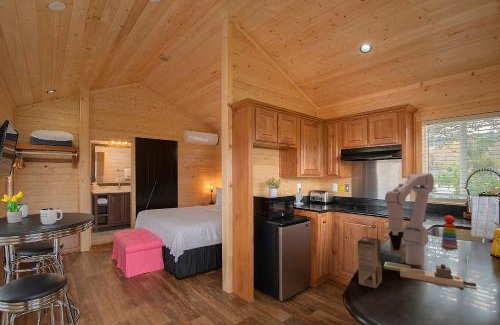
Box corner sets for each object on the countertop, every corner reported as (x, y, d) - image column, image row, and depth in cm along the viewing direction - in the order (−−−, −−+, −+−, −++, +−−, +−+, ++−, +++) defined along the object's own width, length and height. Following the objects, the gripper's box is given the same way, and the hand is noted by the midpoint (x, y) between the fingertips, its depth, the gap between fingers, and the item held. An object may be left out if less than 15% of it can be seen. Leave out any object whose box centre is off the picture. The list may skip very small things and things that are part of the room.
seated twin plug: (436, 278, 103) (435, 262, 103) (450, 280, 101) (449, 264, 101) (437, 281, 99) (436, 265, 100) (451, 284, 97) (450, 267, 97)
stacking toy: (446, 248, 153) (444, 216, 154) (438, 244, 161) (437, 214, 162) (461, 248, 151) (459, 216, 153) (452, 245, 159) (451, 214, 161)
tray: (385, 264, 121) (385, 261, 121) (410, 268, 115) (410, 265, 115) (383, 269, 114) (383, 266, 114) (410, 273, 109) (410, 270, 109)
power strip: (400, 272, 110) (400, 265, 111) (474, 284, 98) (473, 276, 98) (400, 277, 105) (400, 269, 105) (478, 291, 92) (477, 282, 92)
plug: (391, 251, 118) (390, 237, 119) (402, 252, 116) (401, 238, 116) (390, 253, 115) (390, 238, 115) (402, 254, 112) (401, 240, 113)
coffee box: (365, 277, 104) (364, 236, 106) (382, 281, 100) (381, 239, 102) (357, 284, 97) (357, 240, 99) (376, 288, 93) (375, 243, 95)
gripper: (386, 215, 125) (387, 244, 124) (384, 219, 112) (385, 251, 111) (403, 216, 121) (404, 246, 120) (403, 220, 109) (404, 253, 108)
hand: (396, 248), depth 115 cm, fingers closed on plug, 4 cm apart
